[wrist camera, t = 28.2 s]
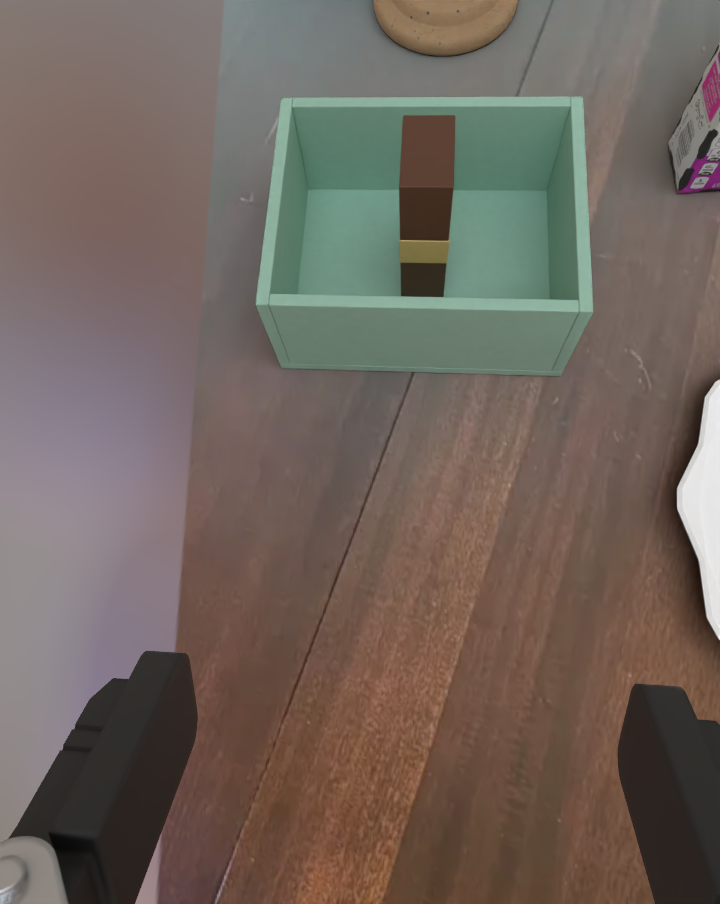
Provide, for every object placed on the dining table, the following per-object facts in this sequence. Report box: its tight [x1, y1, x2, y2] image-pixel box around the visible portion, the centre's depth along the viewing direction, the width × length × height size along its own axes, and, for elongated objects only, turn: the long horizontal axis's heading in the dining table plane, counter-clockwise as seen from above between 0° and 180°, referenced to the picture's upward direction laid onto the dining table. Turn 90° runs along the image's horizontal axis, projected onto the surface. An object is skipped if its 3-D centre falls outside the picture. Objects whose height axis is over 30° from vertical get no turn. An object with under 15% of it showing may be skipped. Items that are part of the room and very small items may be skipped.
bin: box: [255, 97, 593, 376], centre depth 46 cm, size 20×16×9 cm
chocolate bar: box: [399, 115, 456, 297], centre depth 44 cm, size 3×5×12 cm, turn 176°
